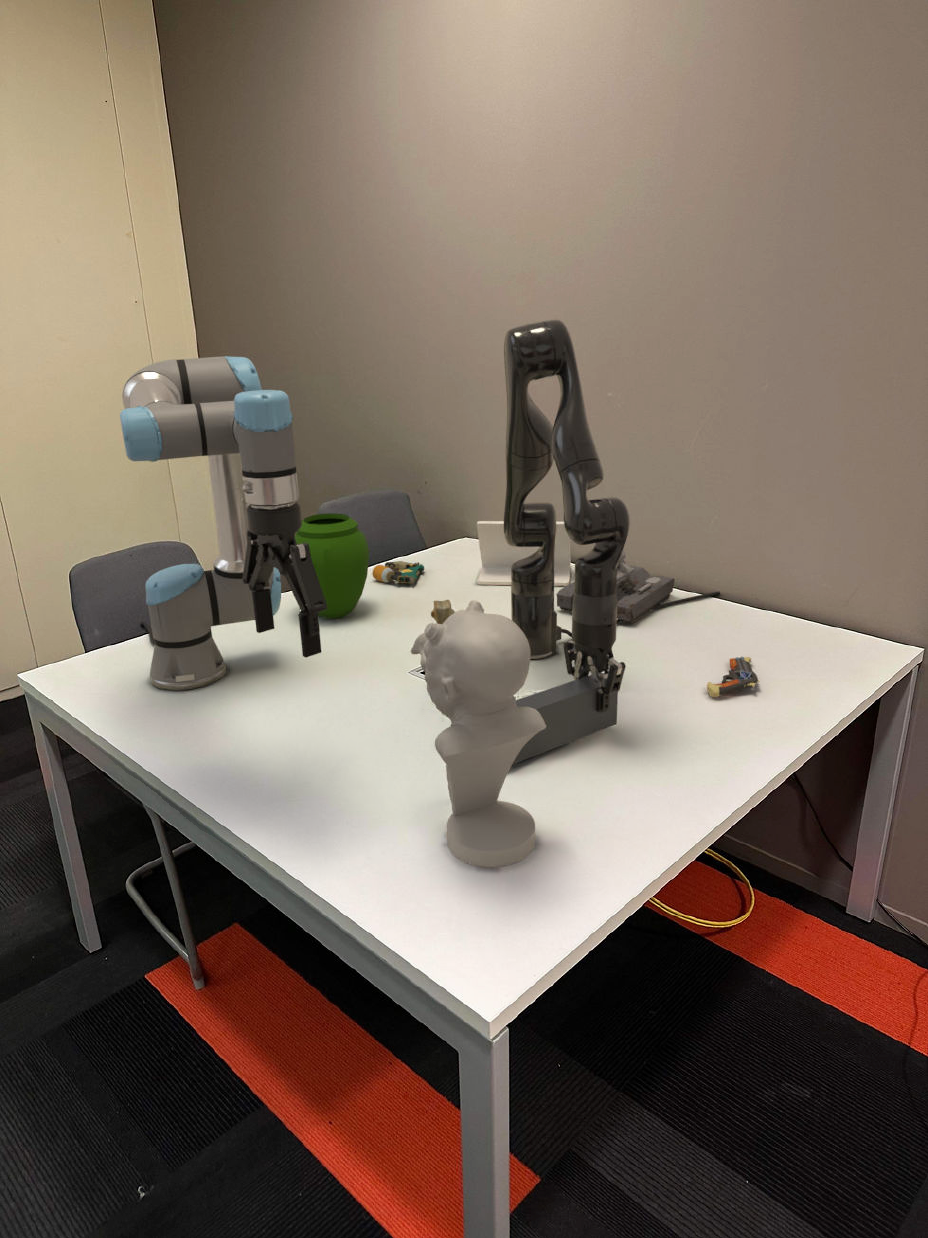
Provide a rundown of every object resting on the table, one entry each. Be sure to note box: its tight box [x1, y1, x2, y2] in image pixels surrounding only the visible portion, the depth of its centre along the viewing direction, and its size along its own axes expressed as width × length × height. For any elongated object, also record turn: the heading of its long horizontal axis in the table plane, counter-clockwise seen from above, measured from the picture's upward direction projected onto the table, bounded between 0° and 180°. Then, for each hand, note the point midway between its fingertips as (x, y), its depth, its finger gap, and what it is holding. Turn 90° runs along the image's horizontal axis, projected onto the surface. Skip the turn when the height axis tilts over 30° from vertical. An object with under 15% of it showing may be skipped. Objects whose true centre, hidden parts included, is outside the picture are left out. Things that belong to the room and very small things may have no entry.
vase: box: [292, 512, 370, 620], centre depth 209 cm, size 20×20×24 cm
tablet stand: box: [476, 520, 572, 587], centre depth 236 cm, size 18×25×17 cm
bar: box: [512, 672, 619, 765], centre depth 147 cm, size 24×5×9 cm, turn 123°
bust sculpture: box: [410, 599, 546, 868], centre depth 121 cm, size 16×24×35 cm
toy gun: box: [706, 656, 760, 698], centre depth 171 cm, size 3×19×10 cm
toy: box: [556, 549, 676, 624], centre depth 212 cm, size 25×20×15 cm
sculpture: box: [430, 599, 456, 624], centre depth 177 cm, size 6×7×15 cm
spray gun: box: [371, 560, 425, 585], centre depth 240 cm, size 4×17×15 cm
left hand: (288, 642), depth 129 cm, fingers open, 13 cm apart
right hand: (591, 705), depth 151 cm, fingers closed on bar, 4 cm apart
